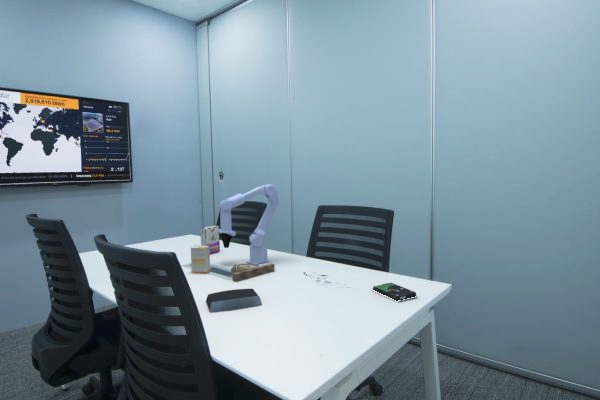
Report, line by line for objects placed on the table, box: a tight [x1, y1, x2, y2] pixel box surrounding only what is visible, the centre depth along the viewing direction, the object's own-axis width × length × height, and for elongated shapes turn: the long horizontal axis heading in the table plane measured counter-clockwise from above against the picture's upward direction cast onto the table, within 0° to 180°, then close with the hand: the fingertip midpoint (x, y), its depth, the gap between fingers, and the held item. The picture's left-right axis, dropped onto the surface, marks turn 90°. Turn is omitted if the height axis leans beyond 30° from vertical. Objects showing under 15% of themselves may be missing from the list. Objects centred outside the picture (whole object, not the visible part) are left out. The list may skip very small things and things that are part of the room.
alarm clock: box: [230, 263, 260, 273], centre depth 178 cm, size 11×5×15 cm
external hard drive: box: [205, 288, 263, 314], centre depth 137 cm, size 13×19×4 cm
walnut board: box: [231, 263, 276, 283], centre depth 173 cm, size 24×2×4 cm, turn 137°
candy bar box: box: [200, 225, 221, 255], centre depth 220 cm, size 11×5×16 cm, turn 147°
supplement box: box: [190, 245, 211, 274], centre depth 179 cm, size 8×5×13 cm, turn 84°
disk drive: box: [372, 282, 417, 301], centre depth 146 cm, size 10×3×15 cm
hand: (226, 247), depth 193 cm, fingers closed
